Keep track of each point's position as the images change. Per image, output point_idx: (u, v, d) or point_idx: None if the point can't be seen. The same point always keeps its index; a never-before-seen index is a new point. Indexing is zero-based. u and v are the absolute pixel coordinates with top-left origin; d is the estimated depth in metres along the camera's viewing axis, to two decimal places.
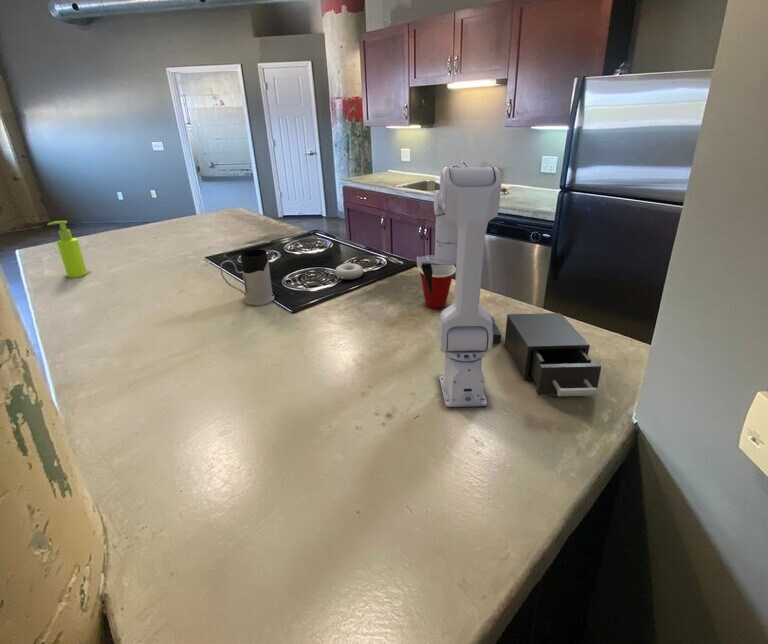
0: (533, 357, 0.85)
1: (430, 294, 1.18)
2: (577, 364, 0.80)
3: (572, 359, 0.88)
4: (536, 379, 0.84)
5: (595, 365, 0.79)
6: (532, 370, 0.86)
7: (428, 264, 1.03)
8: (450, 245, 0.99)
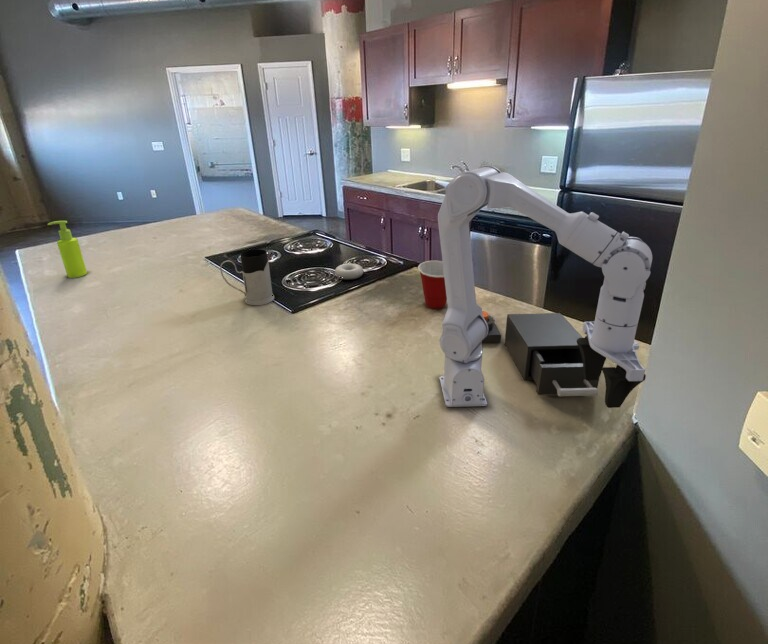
0: (533, 357, 0.85)
1: (430, 294, 1.18)
2: (577, 364, 0.80)
3: (572, 359, 0.88)
4: (536, 379, 0.84)
5: None
6: (532, 370, 0.86)
7: None
8: (599, 322, 0.63)
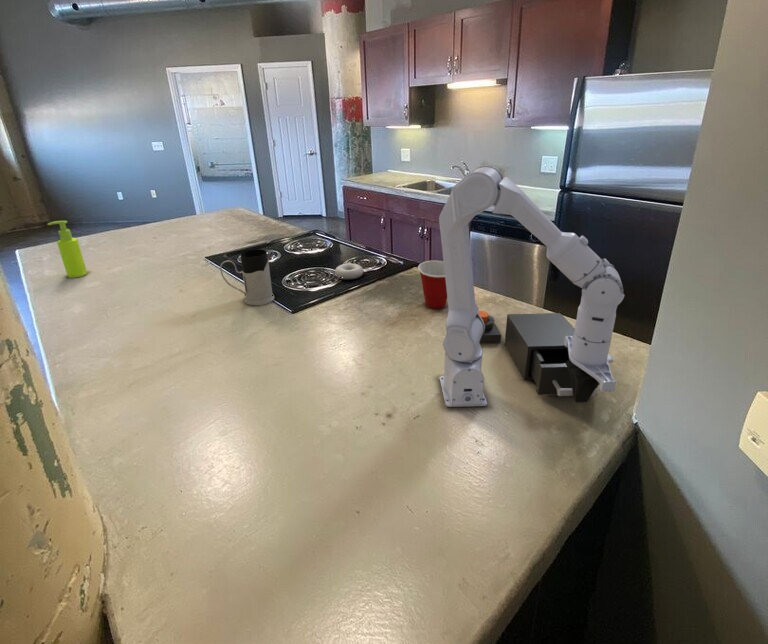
0: (533, 357, 0.85)
1: (430, 294, 1.18)
2: None
3: None
4: (536, 379, 0.84)
5: None
6: (532, 370, 0.86)
7: None
8: (577, 338, 0.70)
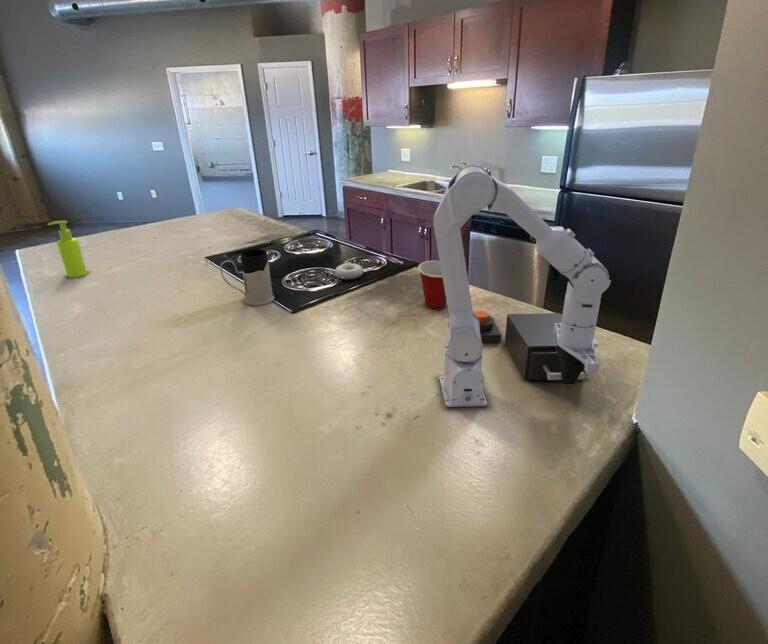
0: None
1: (430, 294, 1.18)
2: None
3: None
4: None
5: None
6: None
7: None
8: (564, 324, 0.75)
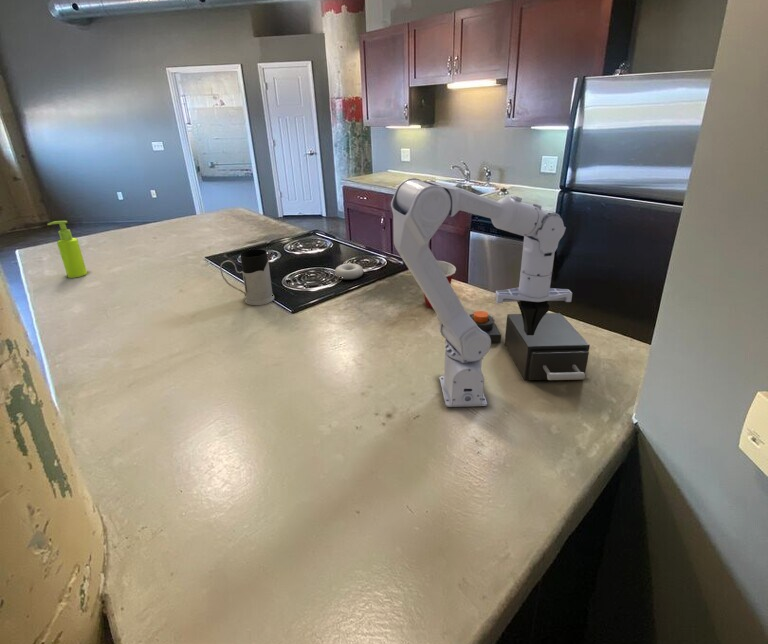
0: None
1: None
2: (566, 350, 0.84)
3: None
4: None
5: (583, 351, 0.84)
6: None
7: None
8: (543, 278, 0.78)
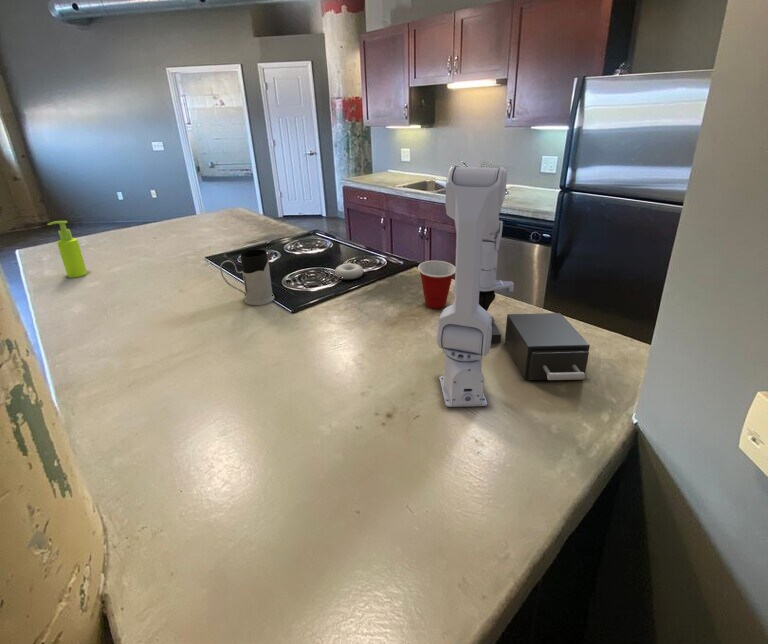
0: None
1: (430, 294, 1.18)
2: (566, 350, 0.84)
3: None
4: None
5: (583, 351, 0.84)
6: None
7: (479, 290, 1.01)
8: (489, 272, 0.97)
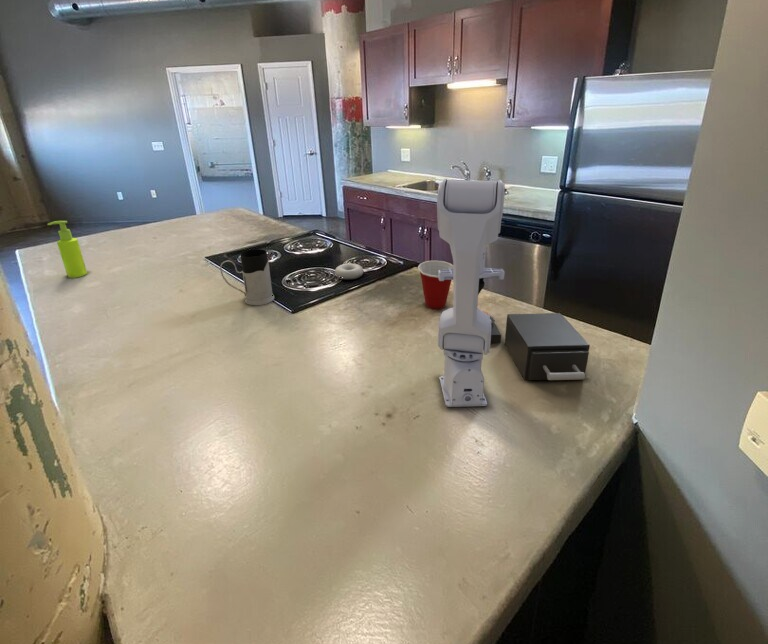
0: None
1: (430, 294, 1.18)
2: (566, 350, 0.84)
3: None
4: None
5: (583, 351, 0.84)
6: None
7: None
8: None
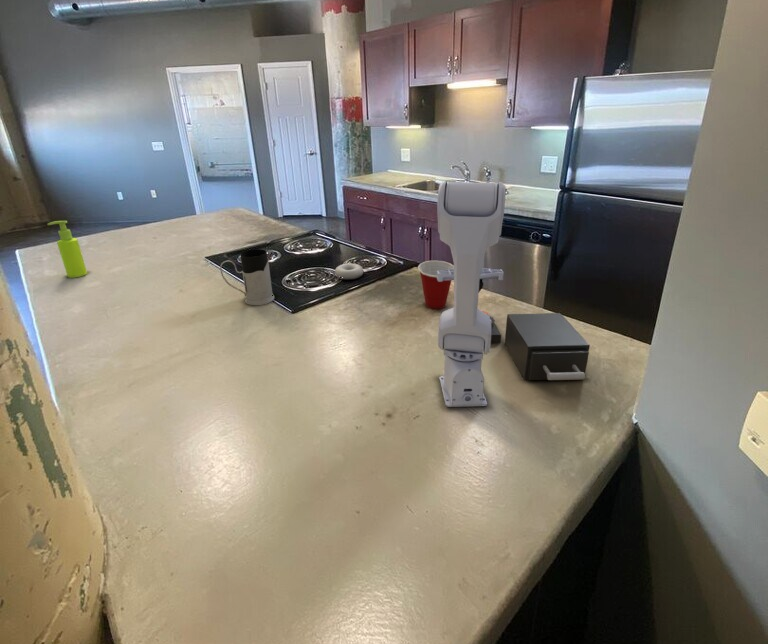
0: None
1: (430, 294, 1.18)
2: (566, 350, 0.84)
3: None
4: None
5: (583, 351, 0.84)
6: None
7: None
8: None
